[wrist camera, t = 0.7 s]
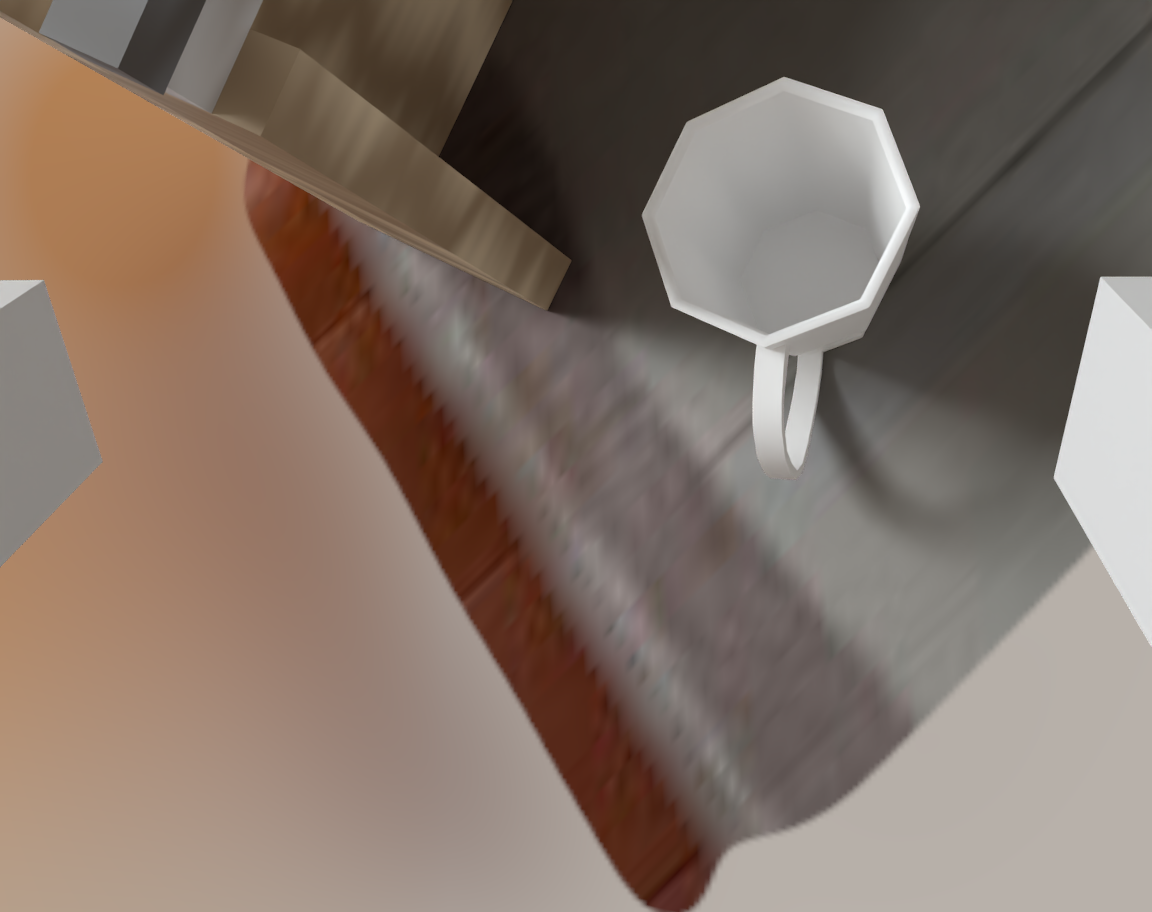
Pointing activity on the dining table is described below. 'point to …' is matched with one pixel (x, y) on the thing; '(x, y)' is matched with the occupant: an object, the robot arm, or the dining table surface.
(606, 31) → the dining table surface
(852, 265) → the cup
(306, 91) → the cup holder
